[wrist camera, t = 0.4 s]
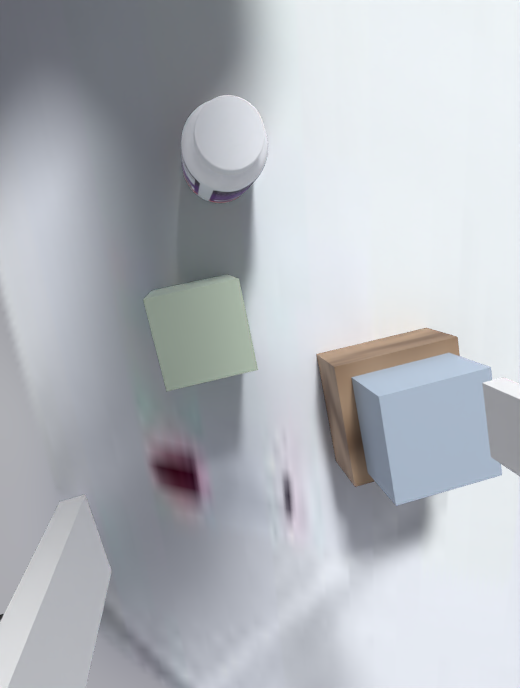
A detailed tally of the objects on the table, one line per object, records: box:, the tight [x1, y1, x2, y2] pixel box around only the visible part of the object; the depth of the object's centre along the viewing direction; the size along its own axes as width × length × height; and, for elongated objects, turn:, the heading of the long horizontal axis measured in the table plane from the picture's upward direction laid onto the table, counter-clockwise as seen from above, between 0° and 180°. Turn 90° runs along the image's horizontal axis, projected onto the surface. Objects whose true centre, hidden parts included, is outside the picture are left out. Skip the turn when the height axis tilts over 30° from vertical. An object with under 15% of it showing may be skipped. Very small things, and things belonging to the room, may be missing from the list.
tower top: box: [351, 353, 502, 506], centre depth 34 cm, size 8×8×5 cm
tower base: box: [317, 328, 460, 487], centre depth 38 cm, size 10×10×5 cm
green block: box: [143, 274, 258, 391], centre depth 33 cm, size 6×6×8 cm
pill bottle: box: [181, 95, 268, 203], centre depth 30 cm, size 5×5×10 cm
